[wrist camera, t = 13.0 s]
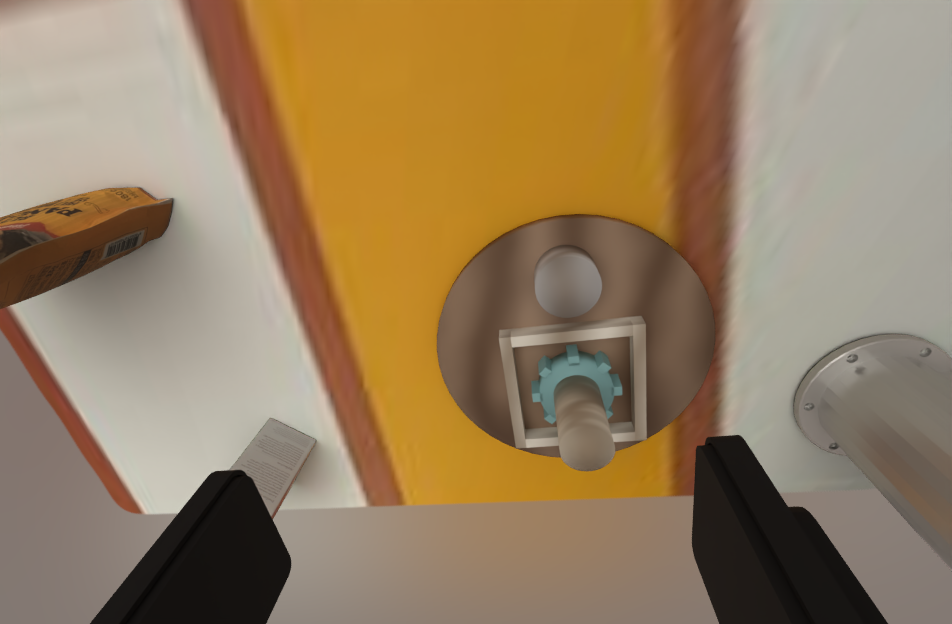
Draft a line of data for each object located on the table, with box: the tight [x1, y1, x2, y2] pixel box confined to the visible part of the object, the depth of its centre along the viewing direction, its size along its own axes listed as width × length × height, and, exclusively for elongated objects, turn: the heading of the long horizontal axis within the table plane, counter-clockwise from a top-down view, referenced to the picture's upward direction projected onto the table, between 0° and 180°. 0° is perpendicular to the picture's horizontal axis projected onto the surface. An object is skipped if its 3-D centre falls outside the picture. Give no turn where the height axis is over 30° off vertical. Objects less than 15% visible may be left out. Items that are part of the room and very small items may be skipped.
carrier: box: [437, 214, 715, 457], centre depth 40 cm, size 24×24×4 cm
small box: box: [230, 418, 316, 520], centre depth 46 cm, size 8×6×10 cm
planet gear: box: [531, 344, 622, 471], centre depth 38 cm, size 8×8×9 cm
